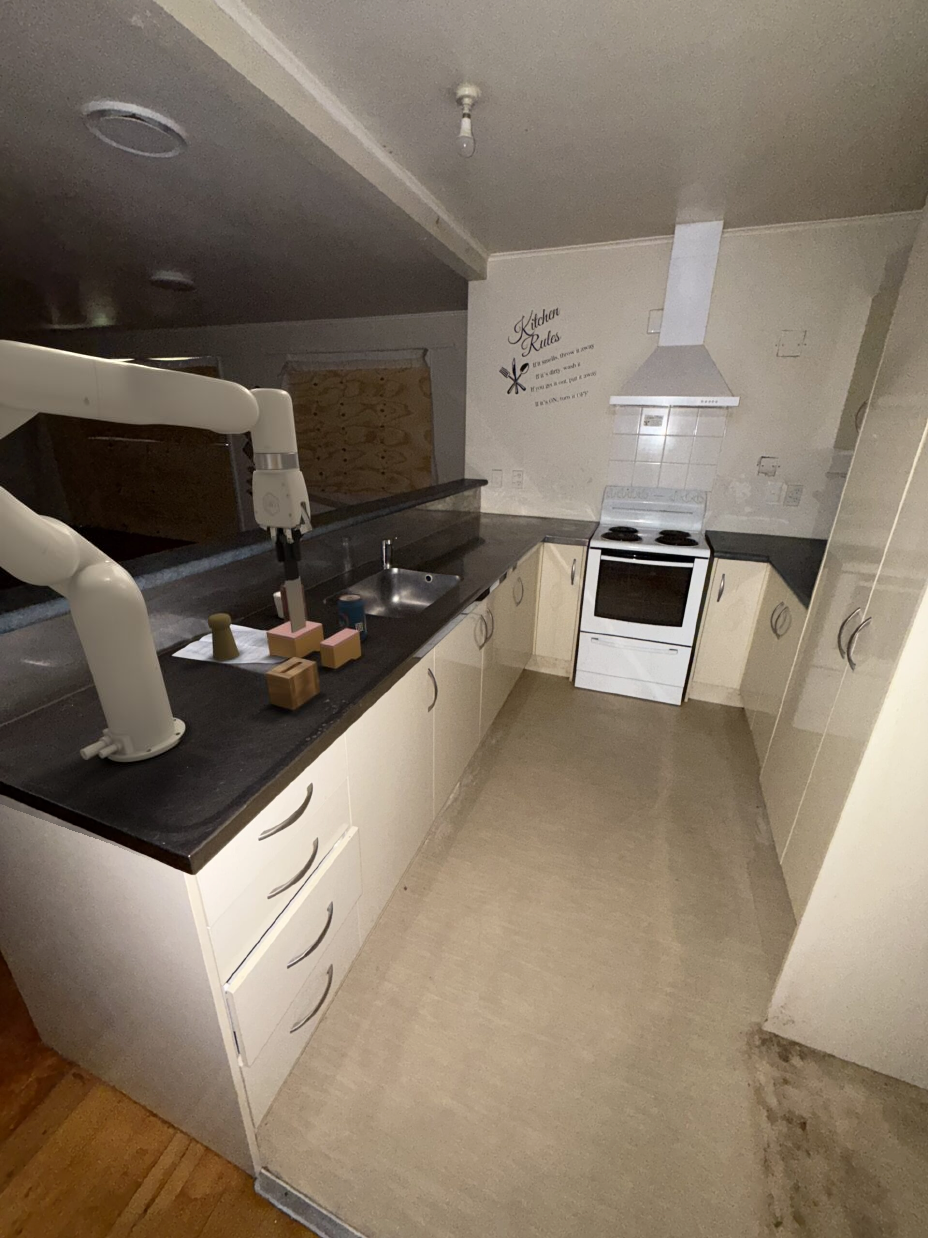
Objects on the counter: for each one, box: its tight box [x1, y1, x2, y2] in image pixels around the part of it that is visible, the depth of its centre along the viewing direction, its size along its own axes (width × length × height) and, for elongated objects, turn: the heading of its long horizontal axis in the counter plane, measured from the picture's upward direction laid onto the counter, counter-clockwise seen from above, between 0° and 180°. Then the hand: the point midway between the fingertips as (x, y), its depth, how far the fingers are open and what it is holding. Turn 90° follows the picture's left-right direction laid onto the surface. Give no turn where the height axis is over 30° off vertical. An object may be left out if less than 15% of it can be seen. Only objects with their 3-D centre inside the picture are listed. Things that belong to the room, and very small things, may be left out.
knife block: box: [265, 657, 321, 711], centre depth 100 cm, size 8×6×8 cm
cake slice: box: [319, 628, 362, 670], centre depth 117 cm, size 10×4×7 cm, turn 156°
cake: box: [265, 620, 325, 659], centre depth 122 cm, size 10×9×7 cm
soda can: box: [337, 593, 368, 643], centre depth 129 cm, size 7×7×12 cm
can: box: [279, 582, 309, 624], centre depth 134 cm, size 6×6×14 cm
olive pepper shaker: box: [207, 612, 240, 662], centre depth 120 cm, size 6×6×11 cm
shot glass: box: [272, 591, 284, 619], centre depth 148 cm, size 7×7×7 cm
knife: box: [280, 533, 306, 633], centre depth 97 cm, size 4×2×20 cm, turn 156°
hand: (289, 560), depth 95 cm, fingers closed on knife, 1 cm apart
